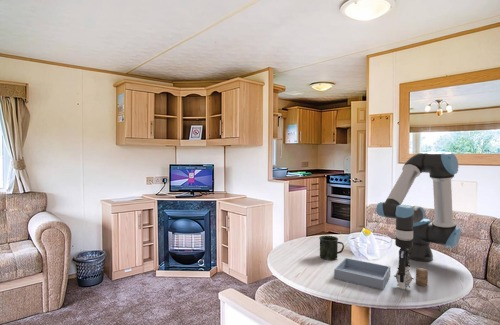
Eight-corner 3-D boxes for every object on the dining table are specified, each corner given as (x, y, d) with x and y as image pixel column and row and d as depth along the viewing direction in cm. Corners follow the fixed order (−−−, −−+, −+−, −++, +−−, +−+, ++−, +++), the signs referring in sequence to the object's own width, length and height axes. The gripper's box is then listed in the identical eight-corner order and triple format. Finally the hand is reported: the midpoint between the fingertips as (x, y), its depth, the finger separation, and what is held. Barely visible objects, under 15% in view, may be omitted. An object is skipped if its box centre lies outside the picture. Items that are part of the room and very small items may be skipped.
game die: (405, 295, 146) (406, 284, 140) (389, 282, 152) (389, 271, 146) (417, 282, 149) (418, 271, 143) (401, 271, 155) (401, 260, 149)
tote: (345, 266, 173) (345, 257, 173) (390, 276, 161) (390, 266, 160) (334, 278, 158) (334, 269, 157) (382, 290, 145) (383, 280, 144)
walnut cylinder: (416, 280, 155) (416, 267, 154) (427, 283, 152) (428, 269, 152) (415, 284, 151) (415, 270, 150) (426, 287, 148) (427, 272, 147)
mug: (318, 253, 194) (319, 235, 194) (343, 255, 191) (343, 236, 191) (319, 260, 184) (319, 240, 183) (344, 261, 181) (344, 241, 180)
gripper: (399, 231, 158) (398, 273, 159) (391, 243, 139) (390, 291, 141) (415, 233, 154) (414, 277, 155) (410, 246, 135) (409, 295, 137)
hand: (403, 283), depth 148 cm, fingers closed on game die, 10 cm apart
